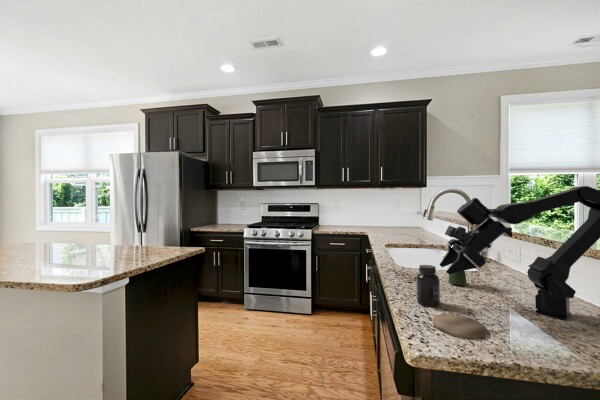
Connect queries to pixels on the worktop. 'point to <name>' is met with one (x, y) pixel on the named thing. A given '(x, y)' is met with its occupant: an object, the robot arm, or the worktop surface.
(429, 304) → the supplement bottle
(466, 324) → the walnut trivet
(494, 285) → the worktop surface
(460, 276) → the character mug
